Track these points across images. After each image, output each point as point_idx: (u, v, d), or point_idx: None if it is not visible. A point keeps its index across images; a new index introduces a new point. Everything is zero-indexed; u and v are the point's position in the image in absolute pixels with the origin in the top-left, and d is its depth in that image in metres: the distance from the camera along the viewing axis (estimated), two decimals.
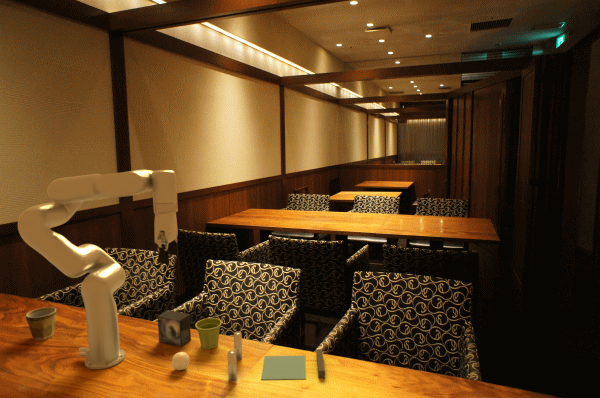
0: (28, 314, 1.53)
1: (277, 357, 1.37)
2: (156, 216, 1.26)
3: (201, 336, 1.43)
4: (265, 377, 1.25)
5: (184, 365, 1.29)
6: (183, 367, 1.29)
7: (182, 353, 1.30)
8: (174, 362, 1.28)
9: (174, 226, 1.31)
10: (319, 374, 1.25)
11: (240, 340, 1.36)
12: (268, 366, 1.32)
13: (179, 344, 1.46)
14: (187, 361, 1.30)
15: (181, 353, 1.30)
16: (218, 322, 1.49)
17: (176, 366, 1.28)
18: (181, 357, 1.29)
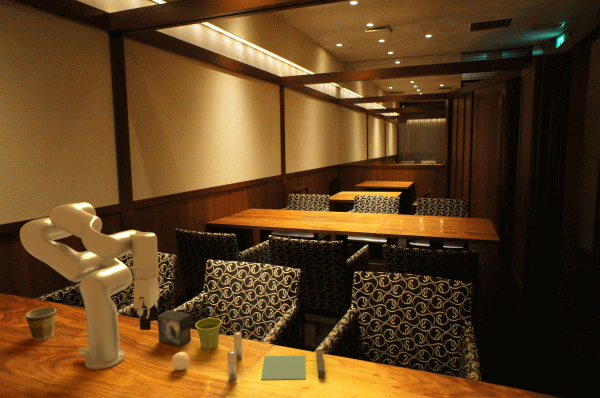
0: (28, 314, 1.53)
1: (277, 357, 1.37)
2: (136, 282, 1.23)
3: (201, 336, 1.43)
4: (265, 377, 1.25)
5: (184, 365, 1.29)
6: (183, 367, 1.29)
7: (182, 353, 1.30)
8: (174, 362, 1.28)
9: (155, 290, 1.28)
10: (319, 374, 1.25)
11: (240, 340, 1.36)
12: (268, 366, 1.32)
13: (179, 344, 1.46)
14: (187, 361, 1.30)
15: (181, 353, 1.30)
16: (218, 322, 1.49)
17: (176, 366, 1.28)
18: (181, 357, 1.29)
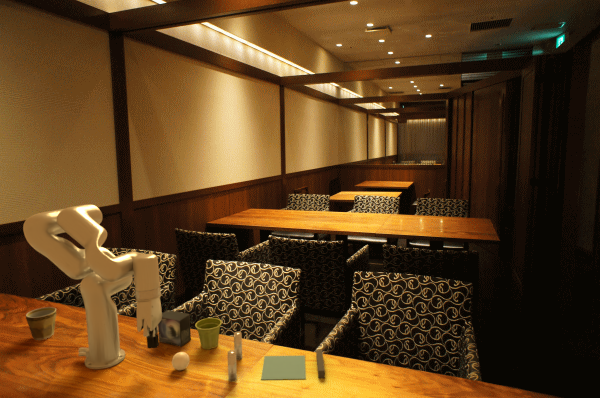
0: (28, 314, 1.53)
1: (277, 357, 1.37)
2: (138, 304, 1.23)
3: (201, 336, 1.43)
4: (265, 377, 1.25)
5: (184, 365, 1.29)
6: (183, 367, 1.29)
7: (182, 353, 1.30)
8: (174, 362, 1.28)
9: (157, 311, 1.28)
10: (319, 374, 1.25)
11: (240, 340, 1.36)
12: (268, 366, 1.32)
13: (179, 344, 1.46)
14: (187, 361, 1.30)
15: (181, 353, 1.30)
16: (218, 322, 1.49)
17: (176, 366, 1.28)
18: (181, 357, 1.29)
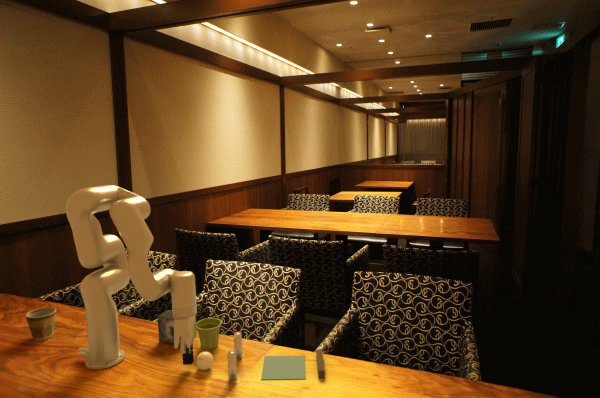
0: (28, 314, 1.53)
1: (277, 357, 1.37)
2: (176, 321, 1.24)
3: (201, 336, 1.43)
4: (265, 377, 1.25)
5: (197, 365, 1.29)
6: (197, 363, 1.29)
7: None
8: (207, 364, 1.28)
9: (193, 328, 1.29)
10: (319, 374, 1.25)
11: (240, 340, 1.36)
12: (268, 366, 1.32)
13: None
14: (198, 367, 1.30)
15: None
16: (218, 322, 1.49)
17: (203, 363, 1.28)
18: (204, 369, 1.29)
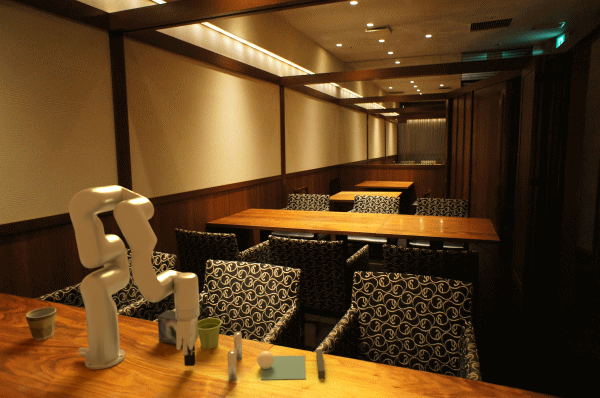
0: (28, 314, 1.53)
1: (277, 357, 1.37)
2: (179, 323, 1.24)
3: (201, 336, 1.43)
4: (265, 377, 1.25)
5: (260, 360, 1.29)
6: (262, 358, 1.29)
7: None
8: (268, 367, 1.29)
9: (196, 329, 1.30)
10: (319, 374, 1.25)
11: (240, 340, 1.36)
12: None
13: None
14: (257, 360, 1.30)
15: None
16: (218, 322, 1.49)
17: (267, 363, 1.28)
18: None
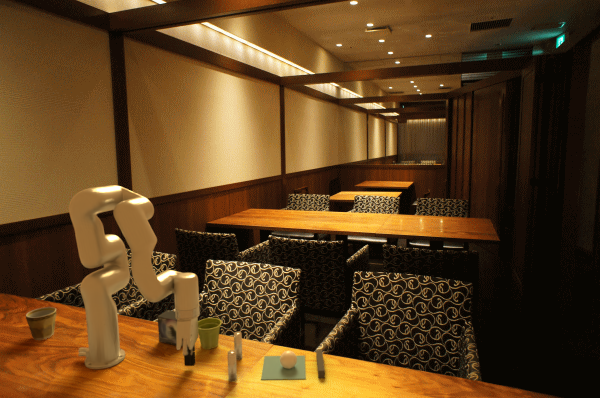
0: (28, 314, 1.53)
1: (277, 357, 1.37)
2: (179, 323, 1.24)
3: (201, 336, 1.43)
4: (265, 377, 1.25)
5: (293, 363, 1.29)
6: (293, 365, 1.29)
7: (289, 351, 1.30)
8: (284, 361, 1.28)
9: (196, 329, 1.30)
10: (319, 374, 1.25)
11: (240, 340, 1.36)
12: (268, 366, 1.32)
13: None
14: (295, 359, 1.30)
15: (288, 352, 1.30)
16: (218, 322, 1.49)
17: (286, 365, 1.28)
18: (290, 355, 1.29)
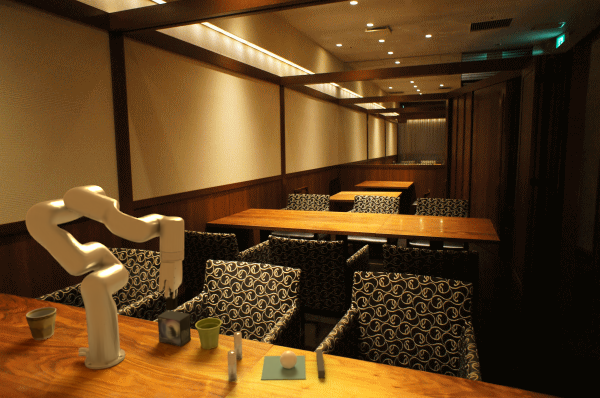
0: (28, 314, 1.53)
1: (277, 357, 1.37)
2: (162, 264, 1.25)
3: (201, 336, 1.43)
4: (265, 377, 1.25)
5: (293, 363, 1.29)
6: (293, 365, 1.29)
7: (289, 351, 1.30)
8: (284, 361, 1.28)
9: (179, 274, 1.30)
10: (319, 374, 1.25)
11: (240, 340, 1.36)
12: (268, 366, 1.32)
13: (179, 344, 1.46)
14: (295, 359, 1.30)
15: (288, 352, 1.30)
16: (218, 322, 1.49)
17: (286, 365, 1.28)
18: (290, 355, 1.29)
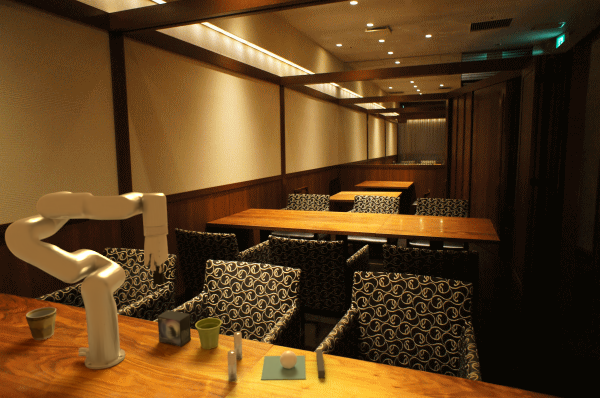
0: (28, 314, 1.53)
1: (277, 357, 1.37)
2: (146, 239, 1.28)
3: (201, 336, 1.43)
4: (265, 377, 1.25)
5: (293, 363, 1.29)
6: (293, 365, 1.29)
7: (289, 351, 1.30)
8: (284, 361, 1.28)
9: (164, 248, 1.33)
10: (319, 374, 1.25)
11: (240, 340, 1.36)
12: (268, 366, 1.32)
13: (179, 344, 1.46)
14: (295, 359, 1.30)
15: (288, 352, 1.30)
16: (218, 322, 1.49)
17: (286, 365, 1.28)
18: (290, 355, 1.29)
